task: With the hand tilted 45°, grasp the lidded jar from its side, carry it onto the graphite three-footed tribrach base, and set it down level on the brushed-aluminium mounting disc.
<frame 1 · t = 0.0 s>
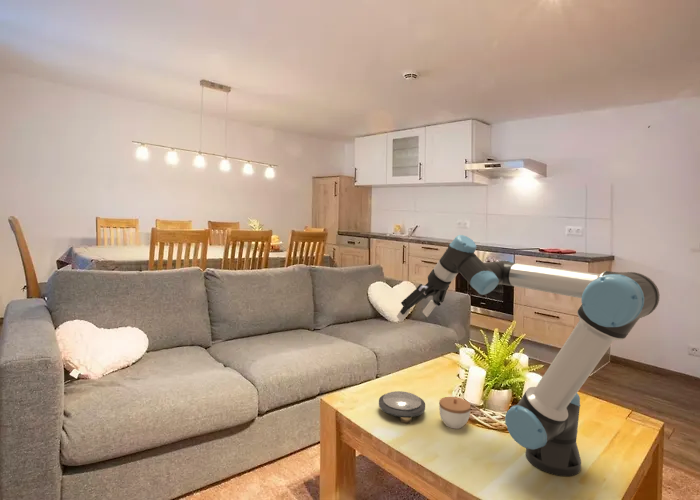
hand: (412, 316, 153), 36 cm above the table, tool tilted 35°, fingers open, 13 cm apart
lidded jar: (453, 424, 148), on the table
tribrach base: (401, 412, 155), on the table
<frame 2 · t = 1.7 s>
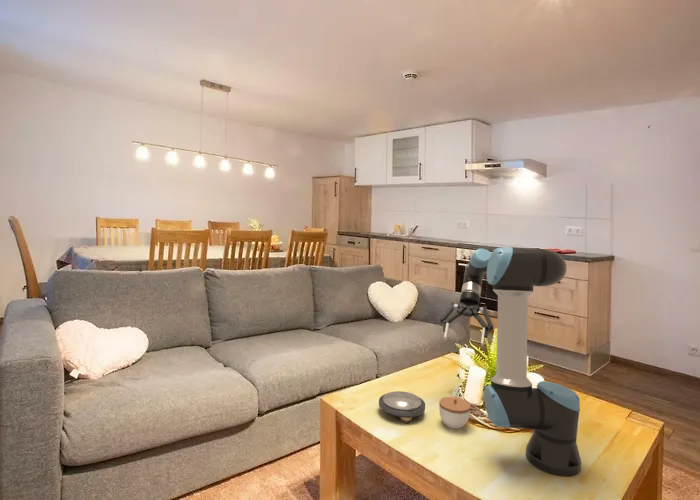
hand: (463, 341, 159), 26 cm above the table, tool tilted 45°, fingers open, 13 cm apart
nothing on the table moved.
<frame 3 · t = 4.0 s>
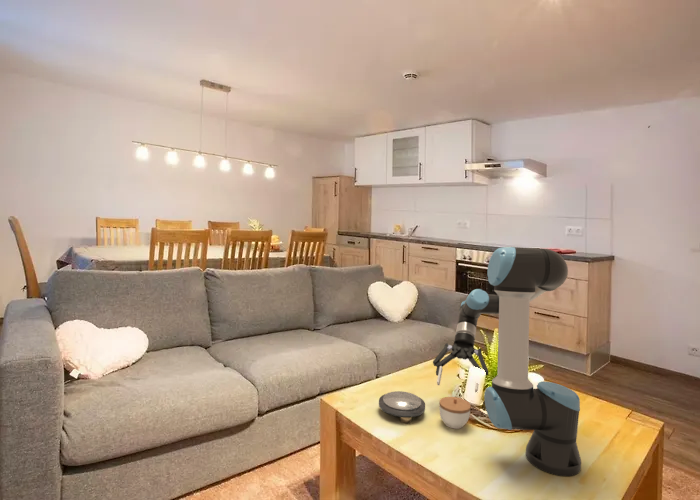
hand: (456, 387, 153), 11 cm above the table, tool tilted 45°, fingers open, 13 cm apart
nothing on the table moved.
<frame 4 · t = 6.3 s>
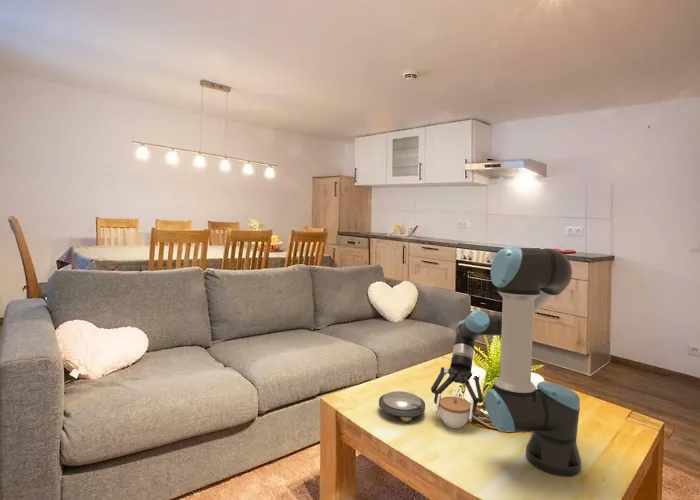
hand: (453, 416, 145), 4 cm above the table, tool tilted 45°, fingers closed on lidded jar, 11 cm apart
lidded jar: (453, 424, 148), on the table, touching gripper
everything else where it was.
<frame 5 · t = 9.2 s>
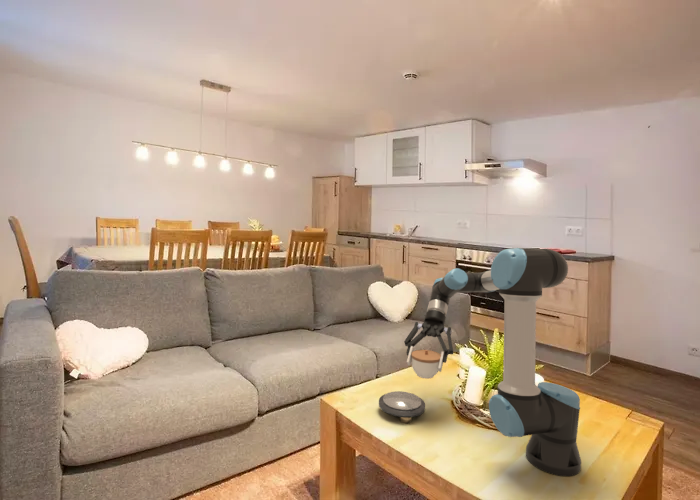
hand: (423, 366, 149), 19 cm above the table, tool tilted 45°, fingers closed on lidded jar, 11 cm apart
lidded jar: (425, 375, 153), point 15 cm above the table, touching gripper
everything else where it was.
when the fingers open (11 cm above the table, at t = 12.1 s): lidded jar drops 1 cm, resting on tribrach base.
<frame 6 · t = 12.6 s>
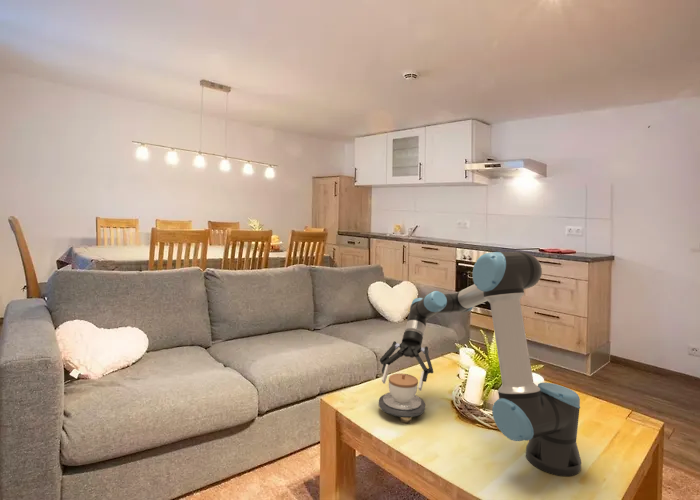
hand: (401, 385, 152), 11 cm above the table, tool tilted 45°, fingers open, 13 cm apart
lidded jar: (402, 399, 155), point 5 cm above the table, touching tribrach base
everything else where it was.
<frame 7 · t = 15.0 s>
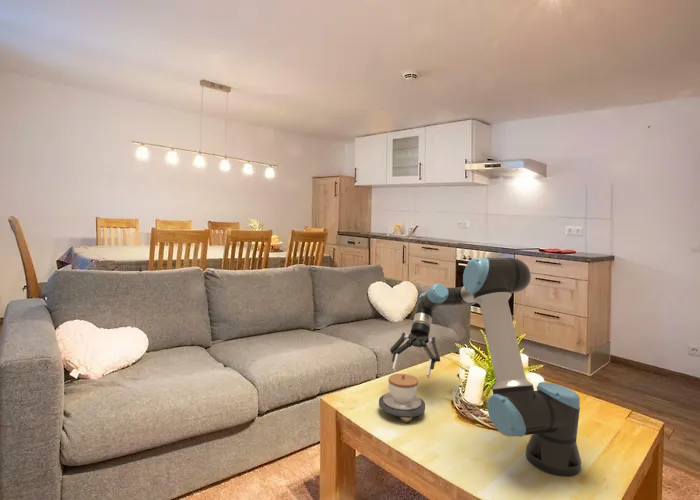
hand: (410, 373, 164), 11 cm above the table, tool tilted 45°, fingers open, 13 cm apart
nothing on the table moved.
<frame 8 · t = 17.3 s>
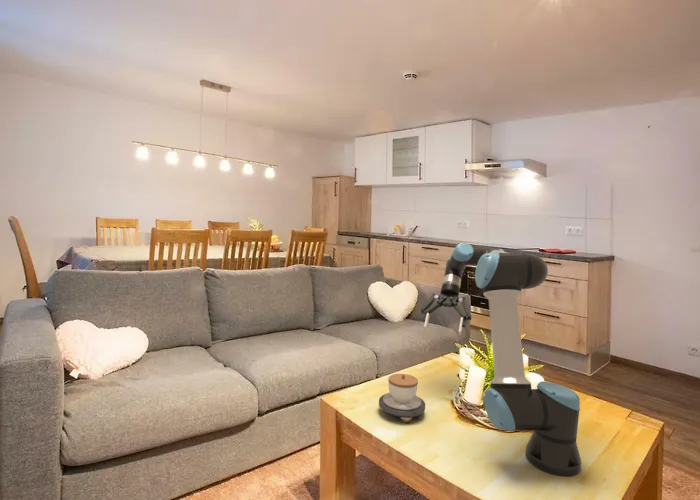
hand: (442, 330, 166), 28 cm above the table, tool tilted 45°, fingers open, 13 cm apart
nothing on the table moved.
at the end: lidded jar 0.1 cm off-centre on the tribrach base, point 4.8 cm above the tribrach base's base; lidded jar tilted 0°; the gripper is holding nothing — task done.
